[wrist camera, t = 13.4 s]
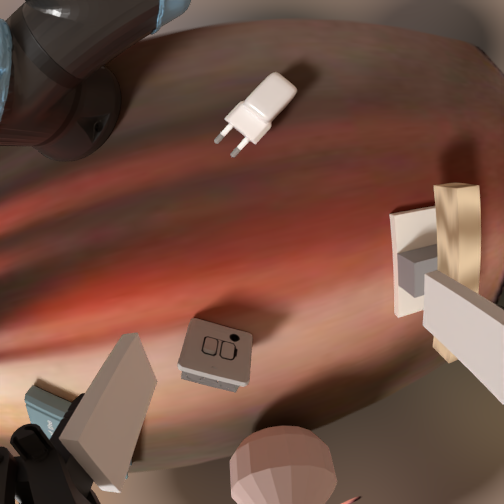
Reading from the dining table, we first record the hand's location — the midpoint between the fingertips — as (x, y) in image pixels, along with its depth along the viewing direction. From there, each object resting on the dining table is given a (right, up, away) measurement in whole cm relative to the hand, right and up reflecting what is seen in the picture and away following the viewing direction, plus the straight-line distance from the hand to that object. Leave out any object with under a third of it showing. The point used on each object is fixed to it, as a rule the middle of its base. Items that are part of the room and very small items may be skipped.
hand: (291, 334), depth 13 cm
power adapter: (-1, +20, +25) cm, 32 cm away
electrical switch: (-6, -10, +32) cm, 34 cm away
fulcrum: (+25, +2, +30) cm, 39 cm away
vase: (+3, -32, +38) cm, 49 cm away
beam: (+26, +1, +24) cm, 35 cm away
